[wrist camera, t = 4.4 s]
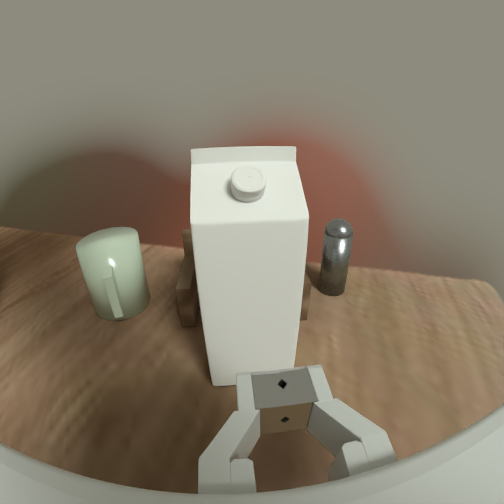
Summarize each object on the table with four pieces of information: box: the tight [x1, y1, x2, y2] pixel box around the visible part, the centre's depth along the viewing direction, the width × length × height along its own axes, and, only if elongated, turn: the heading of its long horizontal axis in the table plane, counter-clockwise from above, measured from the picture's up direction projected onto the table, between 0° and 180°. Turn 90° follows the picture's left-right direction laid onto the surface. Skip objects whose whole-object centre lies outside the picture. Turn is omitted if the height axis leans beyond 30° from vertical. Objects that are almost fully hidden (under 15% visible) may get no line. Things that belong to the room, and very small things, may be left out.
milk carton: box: [190, 146, 309, 386], centre depth 22 cm, size 7×7×19 cm
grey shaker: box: [318, 218, 353, 296], centre depth 35 cm, size 4×4×10 cm
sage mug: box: [76, 227, 150, 321], centre depth 31 cm, size 8×11×9 cm
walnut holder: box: [175, 229, 311, 327], centre depth 33 cm, size 14×9×8 cm, turn 95°
